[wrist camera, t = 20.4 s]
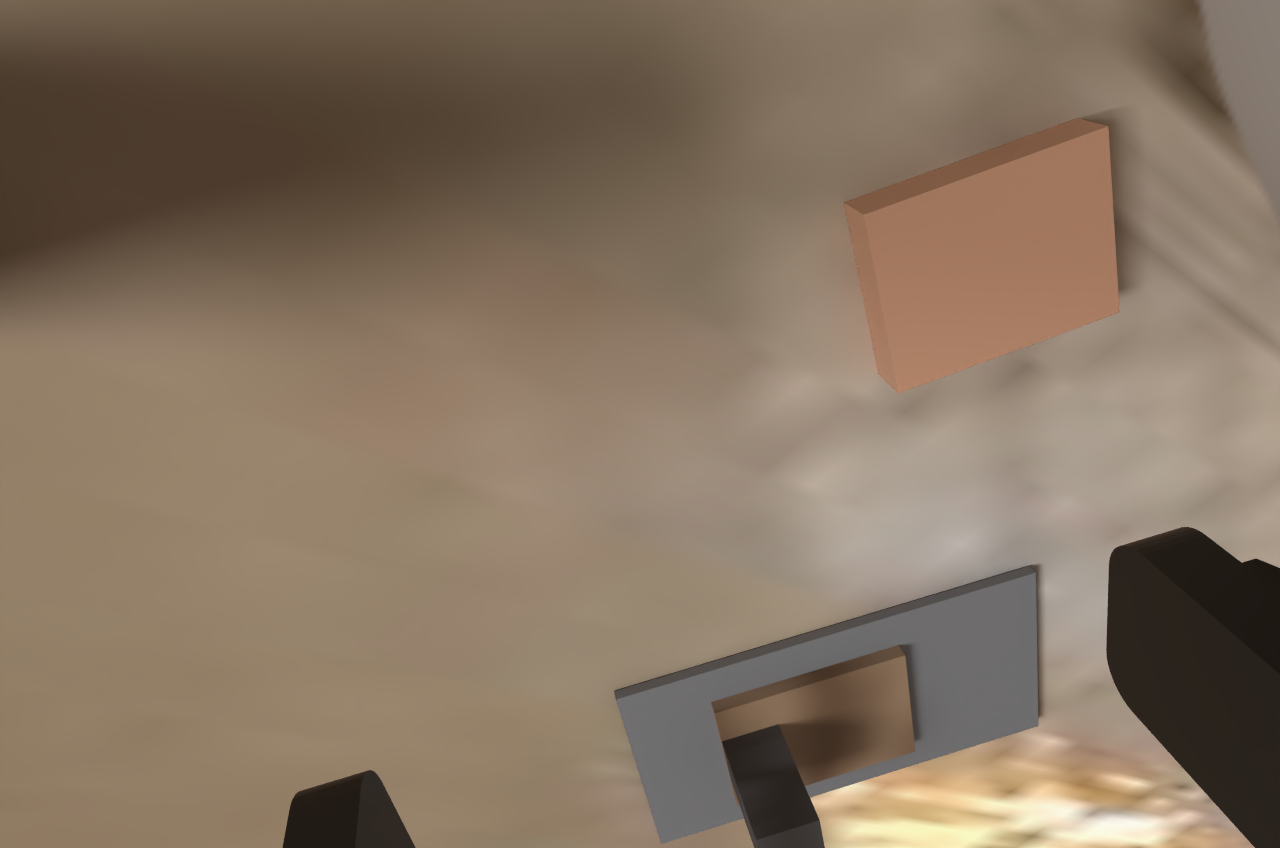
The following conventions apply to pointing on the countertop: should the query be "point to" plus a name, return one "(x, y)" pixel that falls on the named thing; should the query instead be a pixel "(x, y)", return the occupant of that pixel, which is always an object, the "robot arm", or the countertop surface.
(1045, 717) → the countertop surface
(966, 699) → the mat
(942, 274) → the tile
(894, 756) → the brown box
